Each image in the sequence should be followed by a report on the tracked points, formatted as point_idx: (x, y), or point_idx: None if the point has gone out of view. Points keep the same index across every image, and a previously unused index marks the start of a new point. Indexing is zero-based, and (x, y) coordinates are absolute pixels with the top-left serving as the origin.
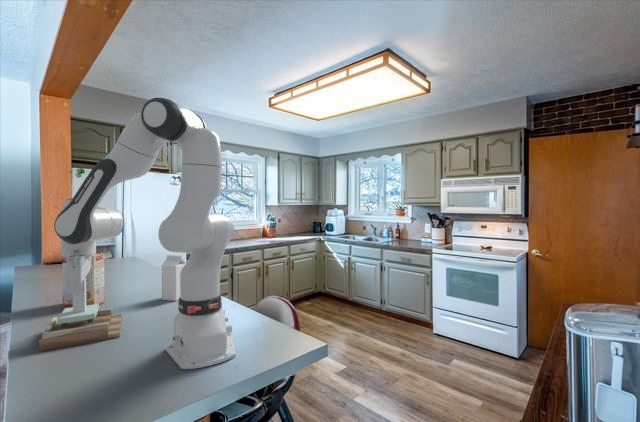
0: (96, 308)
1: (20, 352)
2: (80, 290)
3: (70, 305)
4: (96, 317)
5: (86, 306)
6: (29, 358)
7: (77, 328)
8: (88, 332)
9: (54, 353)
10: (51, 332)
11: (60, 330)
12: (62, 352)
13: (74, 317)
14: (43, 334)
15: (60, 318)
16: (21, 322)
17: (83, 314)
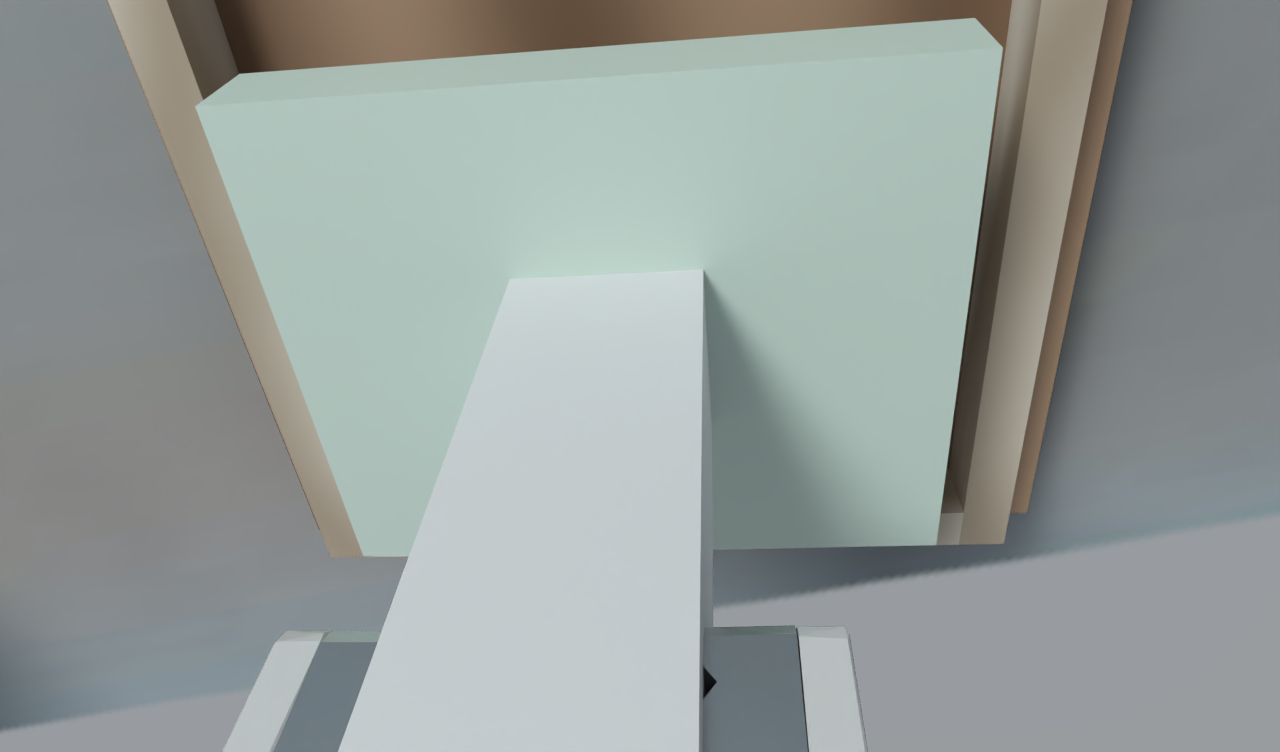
0: (578, 91)
1: (899, 549)
2: (859, 719)
3: None
4: (337, 60)
5: (351, 300)
6: (1121, 464)
7: (1060, 225)
8: (1110, 43)
9: (1156, 303)
10: (1003, 476)
11: (992, 406)
12: (1192, 236)
13: (956, 362)
14: (1003, 529)
15: (926, 521)
16: (86, 692)
17: (916, 259)
